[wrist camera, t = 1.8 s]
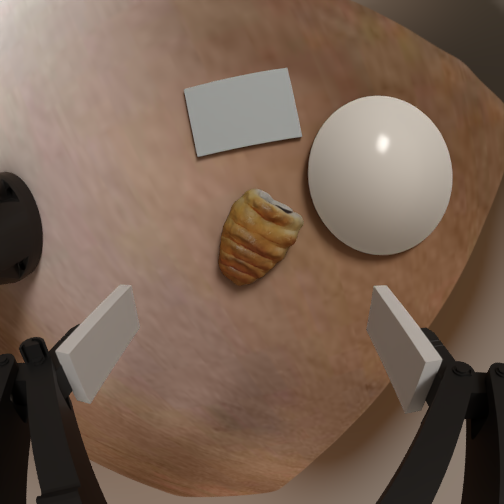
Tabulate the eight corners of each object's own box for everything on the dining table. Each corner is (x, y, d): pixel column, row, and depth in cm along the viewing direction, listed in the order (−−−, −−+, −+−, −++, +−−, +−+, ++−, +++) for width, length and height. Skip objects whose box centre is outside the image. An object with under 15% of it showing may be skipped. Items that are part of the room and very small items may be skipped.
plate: (305, 251, 30) (306, 255, 29) (305, 91, 25) (306, 88, 24) (438, 250, 30) (443, 254, 28) (446, 110, 25) (452, 109, 23)
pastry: (260, 289, 32) (259, 306, 29) (204, 260, 32) (196, 274, 28) (306, 214, 29) (312, 222, 26) (246, 180, 29) (243, 184, 25)
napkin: (198, 156, 28) (197, 156, 27) (184, 90, 26) (183, 89, 25) (301, 136, 27) (302, 136, 26) (286, 68, 25) (287, 67, 24)
